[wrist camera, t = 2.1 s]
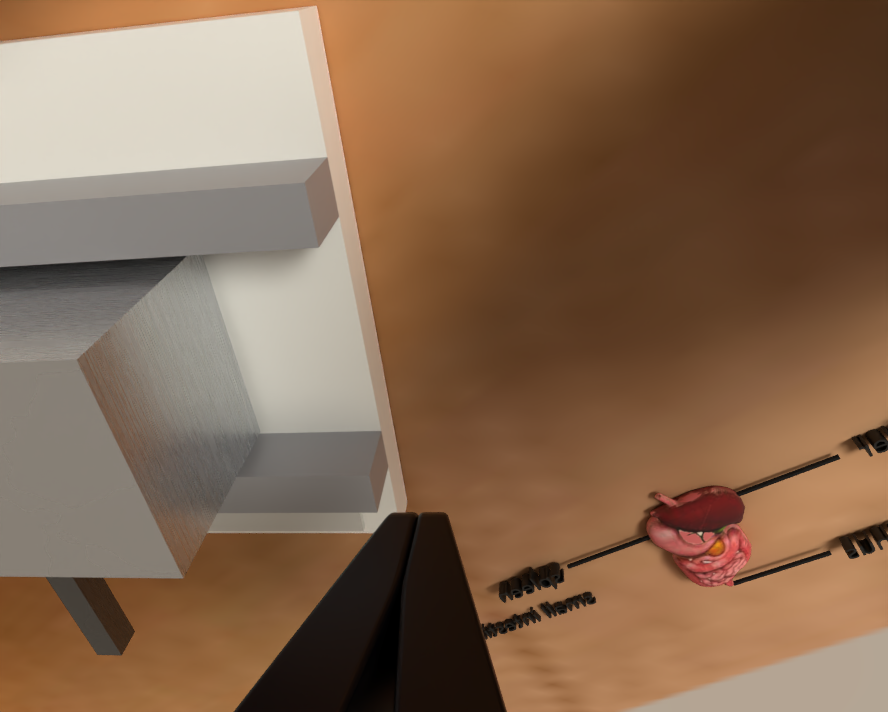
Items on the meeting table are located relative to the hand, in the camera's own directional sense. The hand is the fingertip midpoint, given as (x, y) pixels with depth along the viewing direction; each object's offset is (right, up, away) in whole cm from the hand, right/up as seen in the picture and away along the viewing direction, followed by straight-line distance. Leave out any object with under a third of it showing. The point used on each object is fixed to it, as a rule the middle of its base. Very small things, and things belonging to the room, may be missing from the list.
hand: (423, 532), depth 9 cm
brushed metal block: (-7, +1, +7) cm, 10 cm away
